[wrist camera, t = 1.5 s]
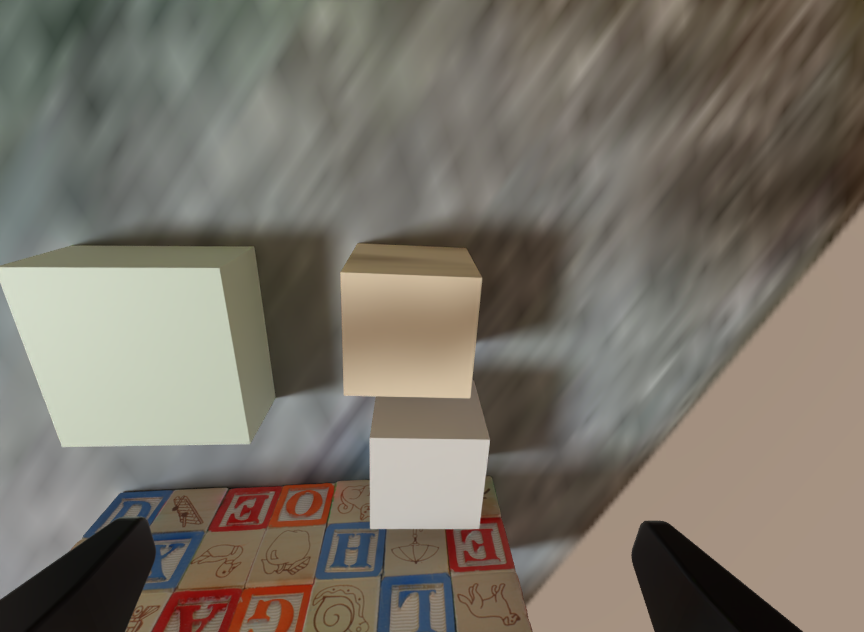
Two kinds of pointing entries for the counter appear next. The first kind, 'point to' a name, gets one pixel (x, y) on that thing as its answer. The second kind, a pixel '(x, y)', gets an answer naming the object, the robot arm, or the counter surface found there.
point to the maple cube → (409, 321)
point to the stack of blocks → (316, 564)
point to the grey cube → (427, 462)
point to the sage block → (145, 342)
